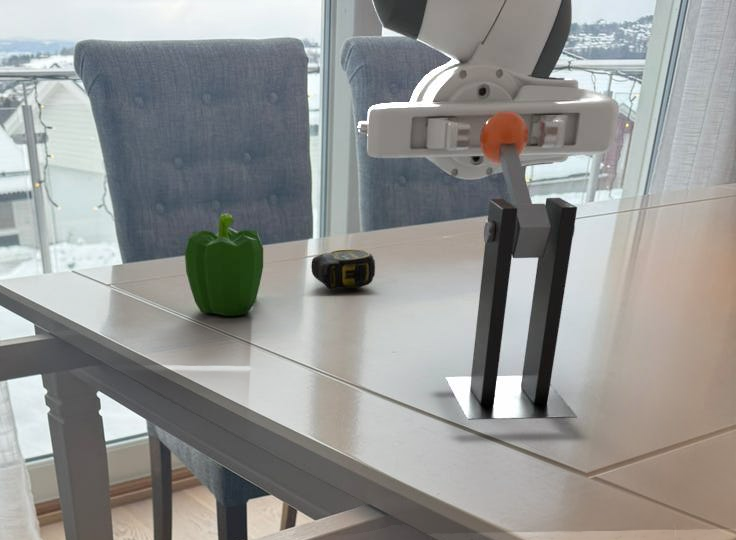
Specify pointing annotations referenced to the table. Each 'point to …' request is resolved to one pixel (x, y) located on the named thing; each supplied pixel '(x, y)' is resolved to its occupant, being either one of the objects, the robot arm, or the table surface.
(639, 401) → the table surface
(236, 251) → the bell pepper
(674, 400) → the table surface
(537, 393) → the bracket
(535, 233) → the lever
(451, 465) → the table surface
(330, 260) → the tape measure
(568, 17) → the robot arm
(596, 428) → the table surface
